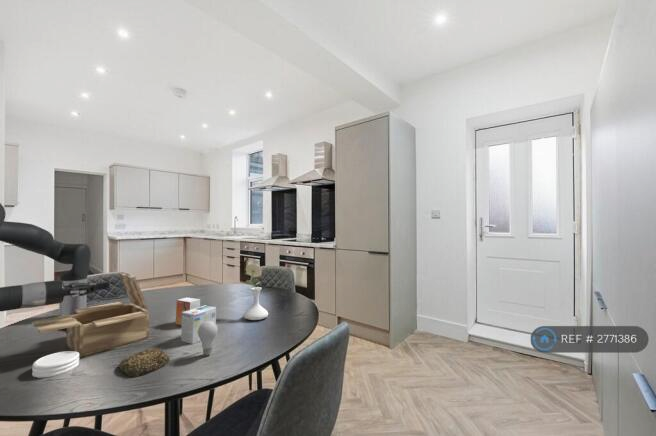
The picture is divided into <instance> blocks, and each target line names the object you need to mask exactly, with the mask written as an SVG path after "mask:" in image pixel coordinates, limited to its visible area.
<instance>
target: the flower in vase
mask: <svg viewBox="0 0 656 436" xmlns="http://www.w3.org/2000/svg"><path fill="white" fill-rule="evenodd" d="M245 271H246V273H247V274H248V275H249V276H250V277H251V280H250V279H247V280H246V281H245V282H244V284H247V285H252V286H253V287H251V288H250V290H251V292H252V295H253V304H252V305H251V306H250V307H249V308H248V309H246V310H245V311H244V312H243V314H242V317H243V319H245V320H249V321H258V320H262V319H263V320H264V319H265V318H267V317H268V316H269V312H268V310H267V309H266V308H265V307H263V306H262V305H261V304H260V301H259V300H260V299H259V298H260V293H261V290H262V289H263V288H262V287H260V286H257V285H259V284H261V281H258V282H257V283H255V284H254V282H253V278H259V277H261V276H262V273H263V270H262V268H261V267H260V266H259V265H257V263H249V264H247V265H245Z"/></svg>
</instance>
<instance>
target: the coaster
mask: <svg viewBox="0 0 656 436" xmlns="http://www.w3.org/2000/svg"><path fill="white" fill-rule="evenodd" d="M79 364H80V358H79V353H78V352H76V351H72V350H66V351H58V352H55V353H51V354H47V355H44V356H42V357H40V358H38V359H37V360H35V361H34V362H33V363H32V369H31V370H32V373H31V376H32V377H33V378H36V377H37V378H38V379H40V378H41V379H44V378H46V379H47V378H51V377H56V376H59V375H60V376H61V375H63V374H66V373H69V372H70V371H73V370H74V369H76V368H77V367H78V366H79Z"/></svg>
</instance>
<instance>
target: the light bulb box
mask: <svg viewBox="0 0 656 436" xmlns="http://www.w3.org/2000/svg"><path fill="white" fill-rule="evenodd" d="M206 321H212V322H214V323H215V324H216V323H217V307H216V306H210V305H206V304H205V305H200V307H198V308H194V309H191V310H188V311H185V312H182V325H181V336H180V339H181V340H180V341H181V342H184V343H188V344H191V345H193V344H196V343H198V342H199V343H200V342H201V339H200V338H199V336H198V329H199V327H200V325H201V324H202V323H204V322H206ZM216 325H217V324H216Z"/></svg>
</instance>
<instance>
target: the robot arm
mask: <svg viewBox="0 0 656 436" xmlns="http://www.w3.org/2000/svg"><path fill="white" fill-rule="evenodd" d="M6 215H7V214H6V209H5V207H4V206H3V205H2V203H1V202H0V242H3V243H6V244H9V245H12V246H16V247H17V248H20V249H22V250H26V251H29V252H33V253H36V254H39V255H42V256H45V257H48V258H49V259H51V260H53V261H56V262H57V263H59V264H63V265H72V266H71V269H70V270H68V271H66V272H63V273H60V275H59V277H60V278H59V279H56V280H50V281H49V280H47V281H37V282H36V281H35V282H30V283H25V284H17V285H9V286H2V287H0V312H6V311H12V310H13V311H14V310H20V309H31V308H37V307H44V306H50V305H58V317H59V316H64V315H69V316H70V315H75V314H78V313H76V312H75V310H76V309H81V308H87V299H88V298H87V295H90V294H93V293H96V292H97V291H100V290H106V289H107V290H108V289H110V282H108V281H104V282H88V274H89V271H90V265H91V255H92V253H91V252H92V251H91V248H90V246H89V245H88V244H86V243H65V242H60V241H57V240H56V239H54V236H53V234H52V233H51V232H50V231H48V230H47V229H45V228H42V227H40V226H39V225H38V226H37V225H34V224H32V223H26V222H19V221H18V222H17V221H5V220H6Z"/></svg>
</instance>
